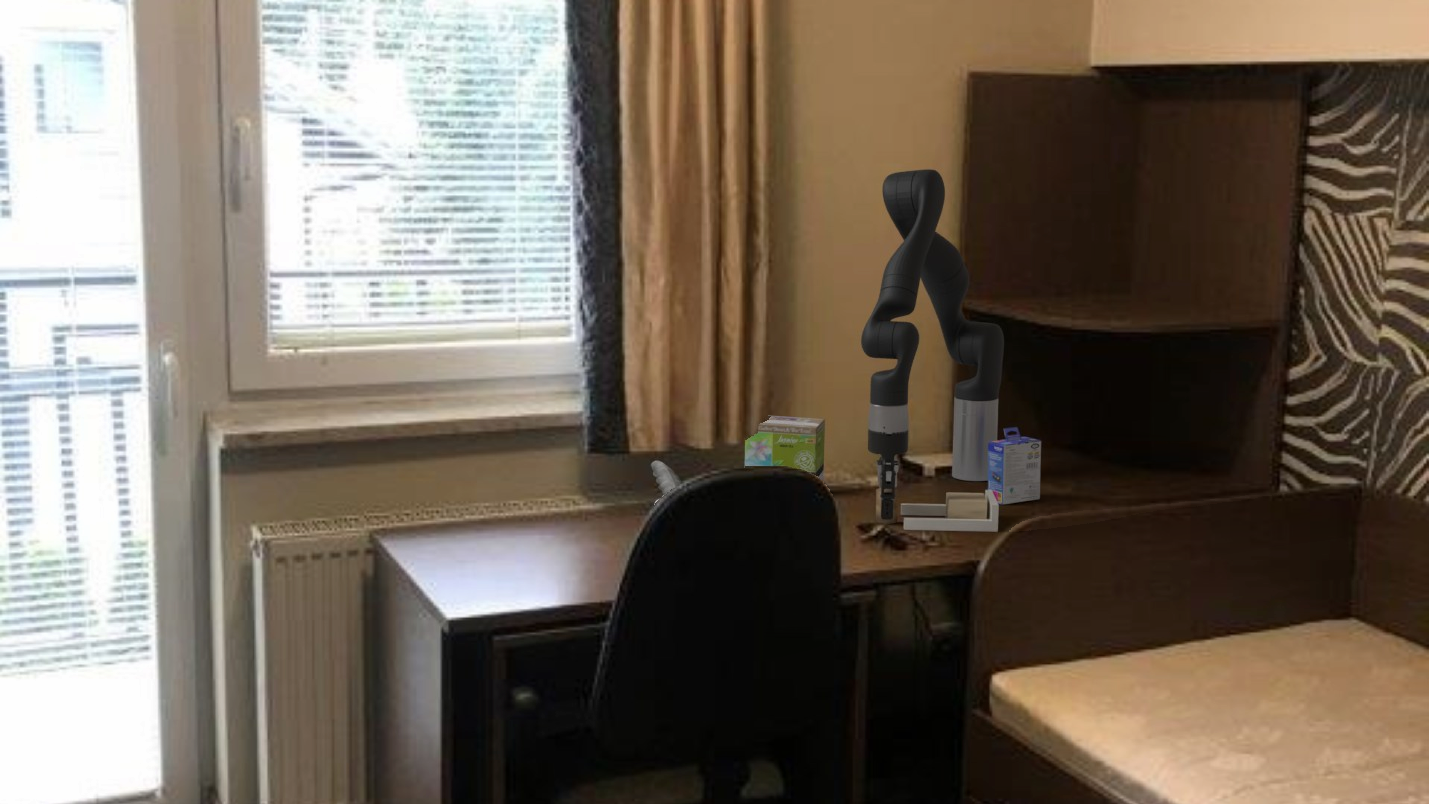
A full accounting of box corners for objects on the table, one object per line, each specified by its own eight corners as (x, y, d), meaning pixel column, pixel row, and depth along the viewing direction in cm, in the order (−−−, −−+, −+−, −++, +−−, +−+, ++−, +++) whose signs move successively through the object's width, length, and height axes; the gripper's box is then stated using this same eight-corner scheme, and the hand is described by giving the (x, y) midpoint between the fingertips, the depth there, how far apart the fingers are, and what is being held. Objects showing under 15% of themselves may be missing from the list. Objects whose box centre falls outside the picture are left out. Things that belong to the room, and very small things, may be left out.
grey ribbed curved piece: (661, 530, 285) (660, 477, 283) (626, 508, 301) (625, 458, 300) (706, 525, 289) (706, 473, 287) (669, 504, 305) (669, 455, 303)
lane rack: (900, 513, 298) (901, 488, 297) (990, 515, 297) (991, 489, 296) (903, 529, 286) (904, 503, 285) (997, 531, 285) (998, 505, 284)
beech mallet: (875, 516, 296) (875, 485, 295) (982, 518, 294) (983, 487, 293) (876, 525, 289) (876, 494, 288) (986, 527, 287) (987, 496, 286)
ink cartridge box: (1022, 494, 314) (1025, 424, 312) (1041, 499, 309) (1044, 429, 307) (985, 500, 309) (987, 429, 307) (1003, 505, 305) (1005, 433, 302)
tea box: (743, 493, 315) (743, 422, 312) (753, 482, 324) (754, 413, 322) (816, 497, 311) (817, 425, 308) (824, 486, 321) (825, 416, 318)
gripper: (867, 419, 296) (865, 506, 299) (869, 434, 282) (867, 525, 285) (906, 420, 296) (904, 507, 299) (910, 434, 282) (908, 526, 285)
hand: (886, 515), depth 292 cm, fingers closed on beech mallet, 4 cm apart
